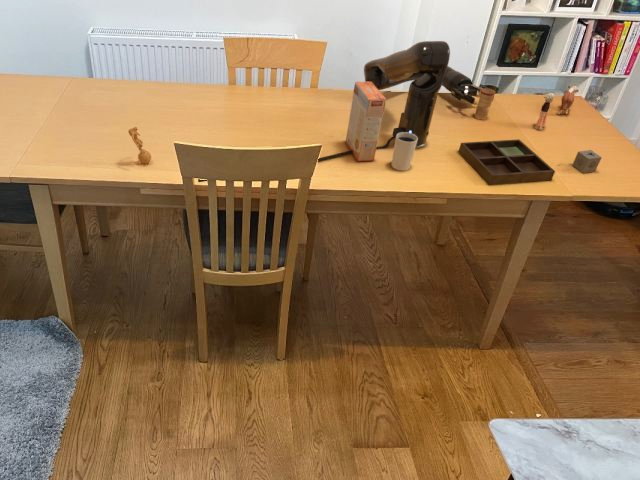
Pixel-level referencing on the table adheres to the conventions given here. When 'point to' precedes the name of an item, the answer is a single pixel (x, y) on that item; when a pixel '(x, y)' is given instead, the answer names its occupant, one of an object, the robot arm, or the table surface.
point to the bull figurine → (568, 98)
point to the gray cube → (586, 161)
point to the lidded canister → (484, 103)
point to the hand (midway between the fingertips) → (483, 100)
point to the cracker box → (365, 120)
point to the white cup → (404, 150)
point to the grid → (505, 162)
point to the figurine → (143, 155)
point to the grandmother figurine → (544, 111)
